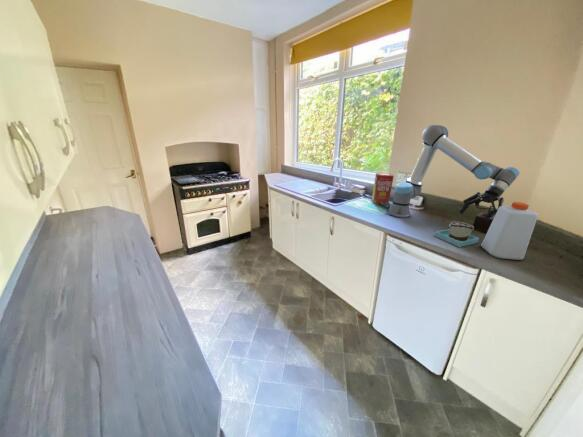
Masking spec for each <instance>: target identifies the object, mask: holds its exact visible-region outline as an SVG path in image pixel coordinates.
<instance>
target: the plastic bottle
mask: <svg viewBox="0 0 583 437" xmlns="http://www.w3.org/2000/svg"><path fill="white" fill-rule="evenodd" d="M529 207H530V206H529V204H528V203H525V202H519V201H513V202H512V203H511V205H502V206H500V207H499V209H498V208H497V210H498V211H497V213H496V214H495V215H494V216H495V217H494V219H493V221H492V223H491V226H490V228H489V230H488V232H486V234H485V236H484V238H483V240H482V242H481V248H482V249H483V250H484V251H486V252H487V253H488V254H489V255H491V256H493V257H494V258H498V259H504V260H512V261H513V260H515V261H521V260H523V259H524V258H525V256H526V252H527V249H528V247H529V245H530V241H531V237H532V236H533V235H532V234H533V232H534V229H535V226H536V223H537V220H538V218H539V214H538V213H537V212H535V211H533V210H531V209H529Z"/></svg>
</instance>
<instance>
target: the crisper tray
mask: <svg viewBox="0 0 583 437" xmlns="http://www.w3.org/2000/svg"><path fill="white" fill-rule="evenodd" d="M449 230H450V228H448V229H442V230H438V231H437V230H436V231H435V233H434V237H436V238H438V239H440V240H443V241H445V242H447V243H449V244H451V245H454V246H455V247H458V248H463V247H466V246H470V245H473V244H478V242H479V240H480V238H479V237H478V236H475V235H472V234H470V236H469V238H468V240H467V241H457V240H455V239H453V238H450V237H448V236H449Z"/></svg>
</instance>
